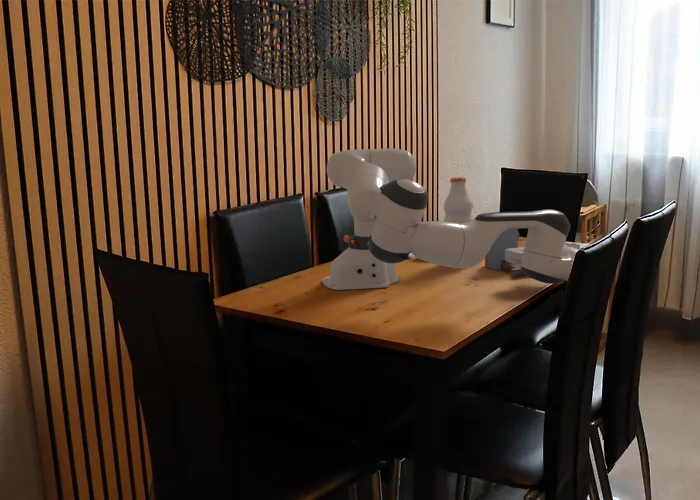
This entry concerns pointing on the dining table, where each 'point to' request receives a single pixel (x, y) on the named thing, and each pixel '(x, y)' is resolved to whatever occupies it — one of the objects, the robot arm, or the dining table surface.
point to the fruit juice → (458, 202)
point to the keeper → (502, 247)
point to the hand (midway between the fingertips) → (526, 248)
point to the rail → (509, 268)
